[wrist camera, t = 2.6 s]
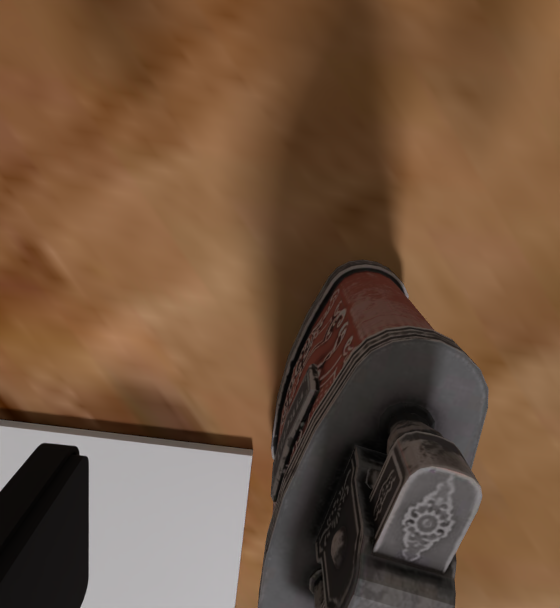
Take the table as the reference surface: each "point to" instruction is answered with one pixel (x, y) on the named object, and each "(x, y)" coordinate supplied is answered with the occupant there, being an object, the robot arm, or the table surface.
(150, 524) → the paper
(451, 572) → the lighter
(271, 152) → the table surface
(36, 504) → the robot arm
